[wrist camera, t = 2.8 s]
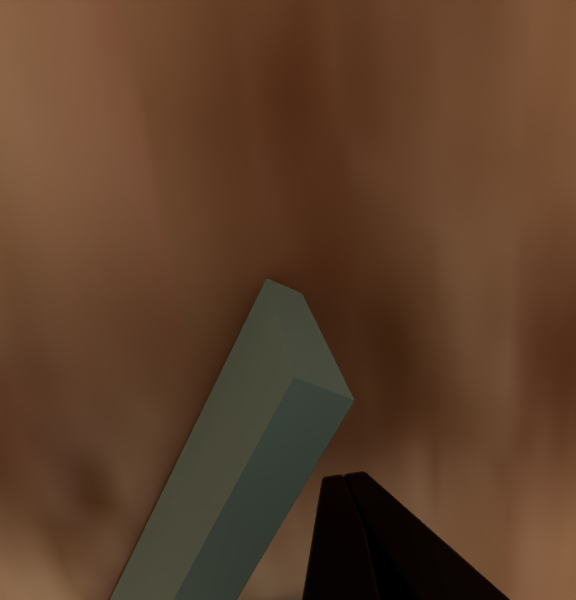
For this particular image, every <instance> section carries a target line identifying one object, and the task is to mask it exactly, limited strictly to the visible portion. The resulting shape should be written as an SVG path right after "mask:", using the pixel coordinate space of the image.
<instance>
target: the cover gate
mask: <svg viewBox="0 0 576 600" xmlns="http://www.w3.org/2000/svg"><path fill="white" fill-rule="evenodd" d="M353 402H354V398H353V396H352V394H351V392H350V390H349V388H348V386H347V384H346V382H345V380H344V378H343V376H342V374H341V372H340V370H339V368H338V366H337V363H336V361H335V359H334V357H333V355H332V353H331V351H330V349H329V347H328V345H327V343H326V341H325V339H324V337H323V335H322V333H321V331H320V329H319V327H318V325H317V323H316V321H315V319H314V317H313V315H312V313H311V311H310V309H309V307H308V305H307V303H306V301H305V299H304V297H303V295H302V293H300V292H298V291H295V290H293V289H291V288H289V287H286V286H284V285H282V284H280V283H277V282H275V281H273V280H270V279H268V278H266V280H265V282H264V284H263V286H262V288H261V290H260V292H259V294H258V296H257V298H256V301H255V303H254V305H253V307H252V309H251V311H250V313H249V315H248V317H247V319H246V321H245V323H244V325H243V327H242V329H241V331H240V333H239V335H238V337H237V340H236V342H235V344H234V346H233V348H232V350H231V352H230V354H229V356H228V358H227V360H226V362H225V364H224V366H223V368H222V370H221V372H220V374H219V376H218V379H217V381H216V383H215V385H214V387H213V389H212V391H211V393H210V395H209V397H208V399H207V401H206V403H205V405H204V407H203V409H202V411H201V413H200V415H199V418H198V420H197V422H196V424H195V426H194V428H193V430H192V432H191V434H190V436H189V438H188V440H187V442H186V444H185V446H184V448H183V450H182V452H181V454H180V457H179V459H178V461H177V463H176V465H175V467H174V469H173V471H172V473H171V475H170V477H169V479H168V481H167V483H166V485H165V487H164V489H163V491H162V493H161V496H160V498H159V500H158V502H157V504H156V506H155V508H154V510H153V512H152V514H151V516H150V518H149V520H148V522H147V524H146V526H145V528H144V530H143V532H142V535H141V537H140V539H139V541H138V543H137V545H136V547H135V549H134V551H133V553H132V555H131V557H130V559H129V561H128V563H127V565H126V567H125V569H124V571H123V574H122V576H121V578H120V580H119V582H118V584H117V586H116V588H115V590H114V592H113V594H112V596H111V598H110V600H237V598H238V597H239V595H240V593H241V592H242V590H243V588H244V586H245V585H246V583H247V581H248V580H249V578H250V576H251V575H252V573H253V571H254V570H255V568H256V566H257V564H258V563H259V561H260V559H261V558H262V556H263V554H264V553H265V551H266V549H267V548H268V546H269V544H270V542H271V541H272V539H273V537H274V536H275V534H276V532H277V531H278V529H279V527H280V526H281V524H282V522H283V520H284V519H285V517H286V515H287V514H288V512H289V510H290V509H291V507H292V505H293V504H294V502H295V500H296V498H297V497H298V495H299V493H300V492H301V490H302V488H303V487H304V485H305V483H306V482H307V480H308V478H309V476H310V475H311V473H312V471H313V470H314V468H315V466H316V465H317V463H318V461H319V460H320V458H321V456H322V454H323V453H324V451H325V449H326V448H327V446H328V444H329V443H330V441H331V439H332V438H333V436H334V434H335V432H336V431H337V429H338V427H339V426H340V424H341V422H342V421H343V419H344V417H345V416H346V414H347V412H348V410H349V409H350V407H351V405H352V404H353Z"/></svg>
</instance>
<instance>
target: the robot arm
mask: <svg viewBox="0 0 576 600" xmlns="http://www.w3.org/2000/svg"><path fill="white" fill-rule="evenodd" d="M302 600H510V599H509V598H508V597H506V596H505V595H504V594H503V593H502V592H501V591H500V590H498V589H497V588H496V587H495V586H494V585H493V584H492V583H491V582H489V581H488V580H487V579H486V578H485V577H484V576H483V575H481V574H480V573H479V572H478V571H477V570H476V569H475V568H474V567H472V566H471V565H470V564H469V563H468V562H467V561H466V560H464V559H463V558H462V557H461V556H460V555H459V554H458V553H457V552H455V551H454V550H453V549H452V548H451V547H450V546H449V545H448V544H446V543H445V542H444V541H443V540H442V539H441V538H440V537H438V536H437V535H436V534H435V533H434V532H433V531H432V530H431V529H429V528H428V527H427V526H426V525H425V524H424V523H423V522H421V521H420V520H419V519H418V518H417V517H416V516H415V515H414V514H412V513H411V512H410V511H409V510H408V509H407V508H406V507H404V506H403V505H402V504H401V503H400V502H399V501H398V500H397V499H395V498H394V497H393V496H392V495H391V494H390V493H389V492H387V491H386V490H385V489H384V488H383V487H382V486H381V485H380V484H378V483H377V482H376V481H375V480H374V479H373V478H372V477H371V476H369V475H368V474H367V473H365V472H362V471H361V472H354V473H347V474H345V475H344V477H343V476H342V475H333V476H326V477H323V479H322V482H321V488H320V494H319V500H318V506H317V512H316V518H315V525H314V531H313V537H312V543H311V549H310V555H309V561H308V567H307V573H306V579H305V585H304V591H303V597H302Z"/></svg>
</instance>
